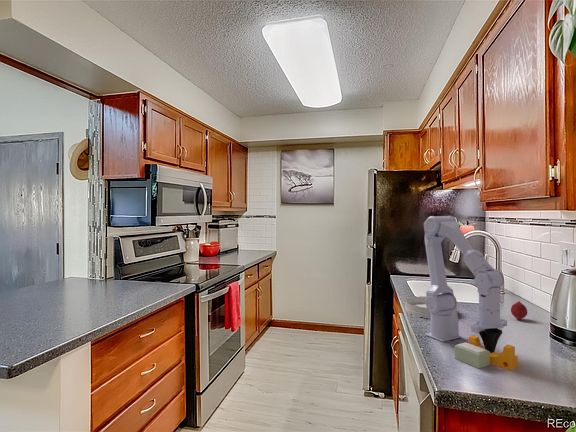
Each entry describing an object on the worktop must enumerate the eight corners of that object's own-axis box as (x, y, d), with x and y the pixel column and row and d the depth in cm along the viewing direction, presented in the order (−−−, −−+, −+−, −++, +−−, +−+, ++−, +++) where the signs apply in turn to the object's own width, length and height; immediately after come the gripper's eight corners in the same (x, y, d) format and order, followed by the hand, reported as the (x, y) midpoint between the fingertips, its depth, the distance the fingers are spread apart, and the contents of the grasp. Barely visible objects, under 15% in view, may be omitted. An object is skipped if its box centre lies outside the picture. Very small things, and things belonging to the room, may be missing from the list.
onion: (530, 322, 141) (530, 302, 141) (514, 321, 143) (514, 302, 143) (523, 318, 147) (523, 299, 147) (508, 317, 148) (508, 298, 148)
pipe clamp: (517, 367, 101) (517, 345, 101) (511, 371, 99) (510, 348, 99) (475, 353, 111) (475, 333, 111) (468, 357, 108) (468, 336, 108)
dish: (416, 321, 146) (415, 309, 146) (397, 307, 168) (397, 296, 168) (467, 320, 147) (467, 308, 147) (442, 306, 169) (442, 295, 169)
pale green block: (465, 355, 110) (465, 341, 110) (489, 365, 102) (489, 350, 102) (454, 358, 107) (454, 344, 107) (478, 368, 100) (478, 353, 100)
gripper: (486, 315, 102) (486, 361, 102) (516, 308, 108) (517, 352, 108) (464, 309, 108) (465, 352, 108) (494, 303, 114) (495, 344, 114)
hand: (489, 351), depth 109 cm, fingers closed
